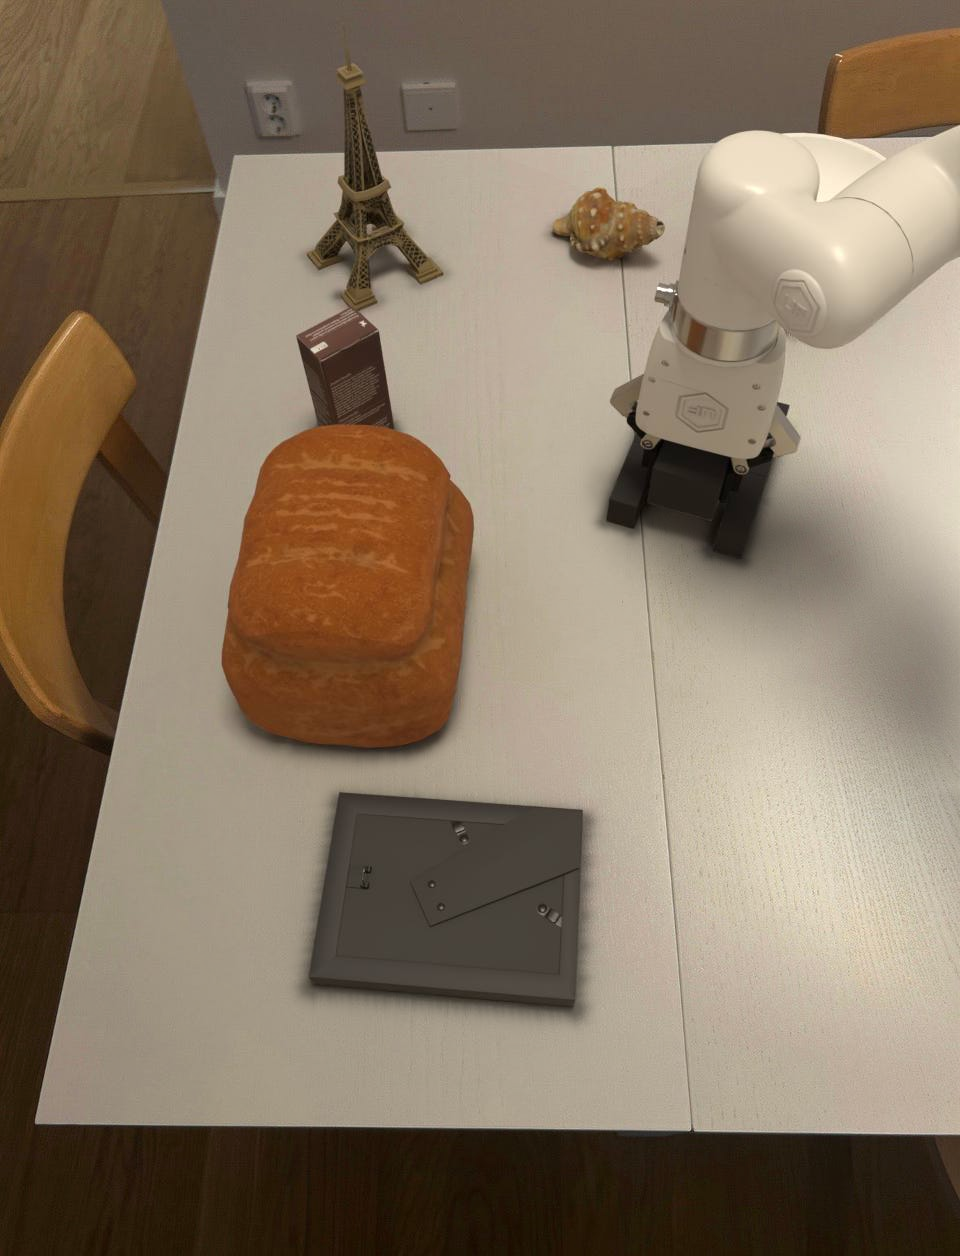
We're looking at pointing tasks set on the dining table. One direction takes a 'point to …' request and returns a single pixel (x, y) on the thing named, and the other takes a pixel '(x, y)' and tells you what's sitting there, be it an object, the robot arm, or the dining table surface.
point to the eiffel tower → (364, 204)
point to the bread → (350, 590)
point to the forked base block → (737, 512)
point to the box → (346, 371)
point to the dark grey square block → (687, 479)
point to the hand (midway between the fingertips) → (690, 480)
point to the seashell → (607, 226)
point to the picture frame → (451, 899)
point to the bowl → (837, 161)
